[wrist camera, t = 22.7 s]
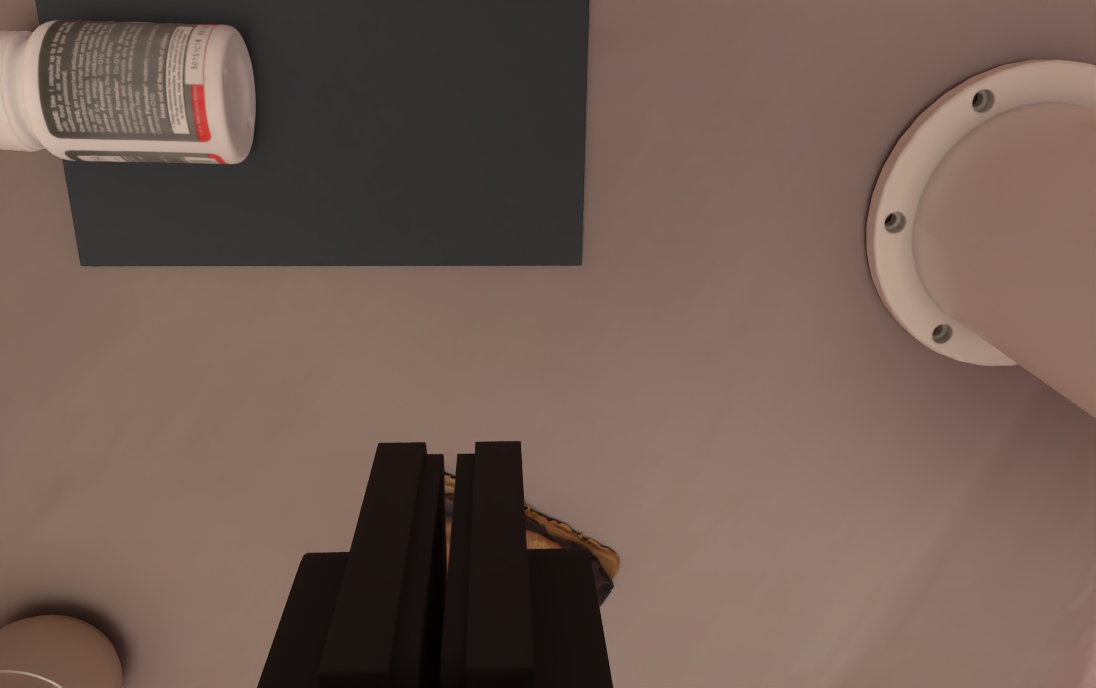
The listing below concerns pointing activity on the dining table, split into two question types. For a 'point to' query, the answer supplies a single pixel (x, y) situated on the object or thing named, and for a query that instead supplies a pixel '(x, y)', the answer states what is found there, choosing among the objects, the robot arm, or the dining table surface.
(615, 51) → the dining table surface
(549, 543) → the bread roll
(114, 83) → the pill bottle
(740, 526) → the dining table surface
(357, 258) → the mat
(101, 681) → the plastic bottle
